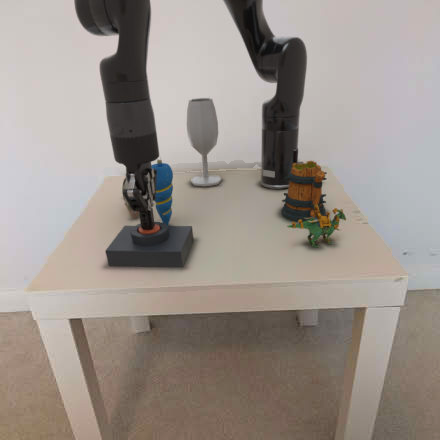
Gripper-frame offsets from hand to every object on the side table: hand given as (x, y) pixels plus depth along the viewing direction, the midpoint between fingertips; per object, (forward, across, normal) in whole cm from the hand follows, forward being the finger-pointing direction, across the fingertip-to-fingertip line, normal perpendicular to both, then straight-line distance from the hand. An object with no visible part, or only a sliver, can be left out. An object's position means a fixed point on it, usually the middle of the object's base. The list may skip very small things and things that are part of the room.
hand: (148, 228), depth 74 cm
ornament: (+5, +12, 0) cm, 13 cm away
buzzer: (+5, 0, 0) cm, 5 cm away
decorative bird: (+5, +24, +11) cm, 27 cm away
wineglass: (+5, +42, -4) cm, 43 cm away
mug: (+5, +18, -30) cm, 36 cm away
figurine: (+5, +4, -31) cm, 32 cm away
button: (+2, 0, 0) cm, 2 cm away
